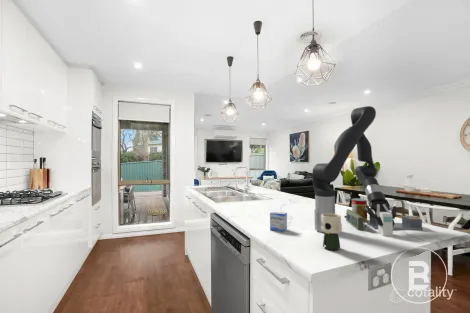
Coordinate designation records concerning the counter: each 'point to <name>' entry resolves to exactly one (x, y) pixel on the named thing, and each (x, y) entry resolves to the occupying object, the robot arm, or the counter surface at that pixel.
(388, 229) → the block
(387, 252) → the counter surface
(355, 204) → the canned food
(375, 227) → the grey stepped block
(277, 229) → the medicine box
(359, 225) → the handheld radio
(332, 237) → the character mug
